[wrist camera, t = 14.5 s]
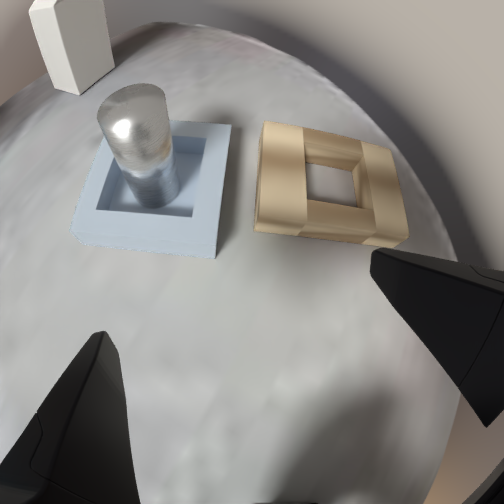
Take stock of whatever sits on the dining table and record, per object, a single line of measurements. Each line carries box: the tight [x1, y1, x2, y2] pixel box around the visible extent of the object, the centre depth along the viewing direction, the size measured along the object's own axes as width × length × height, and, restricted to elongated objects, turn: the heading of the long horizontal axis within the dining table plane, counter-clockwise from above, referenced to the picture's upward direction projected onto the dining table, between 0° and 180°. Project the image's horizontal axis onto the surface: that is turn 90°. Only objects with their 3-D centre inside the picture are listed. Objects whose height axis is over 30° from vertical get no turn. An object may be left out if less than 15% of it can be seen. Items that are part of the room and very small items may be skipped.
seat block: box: [69, 120, 232, 259], centre depth 23 cm, size 12×12×3 cm
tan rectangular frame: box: [254, 121, 410, 248], centre depth 25 cm, size 10×14×3 cm
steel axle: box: [97, 84, 181, 209], centre depth 19 cm, size 4×4×10 cm
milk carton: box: [29, 0, 115, 95], centre depth 20 cm, size 7×7×19 cm
